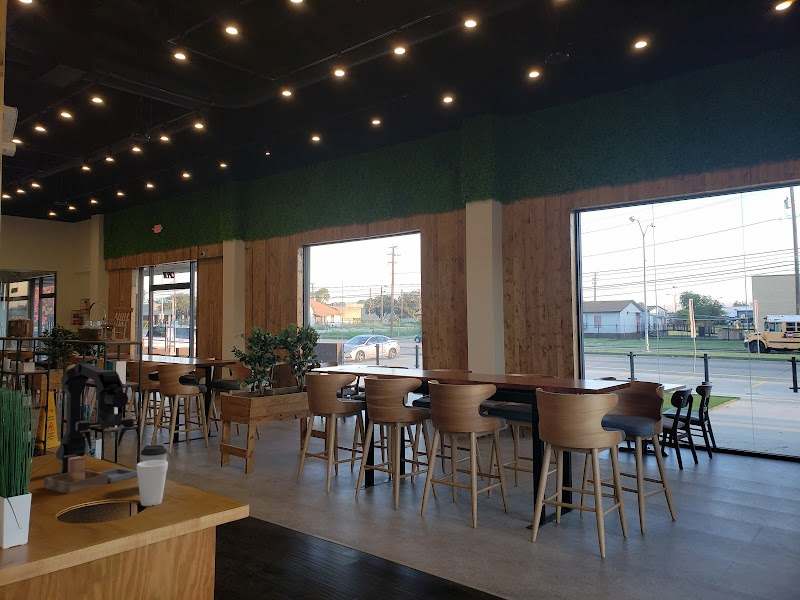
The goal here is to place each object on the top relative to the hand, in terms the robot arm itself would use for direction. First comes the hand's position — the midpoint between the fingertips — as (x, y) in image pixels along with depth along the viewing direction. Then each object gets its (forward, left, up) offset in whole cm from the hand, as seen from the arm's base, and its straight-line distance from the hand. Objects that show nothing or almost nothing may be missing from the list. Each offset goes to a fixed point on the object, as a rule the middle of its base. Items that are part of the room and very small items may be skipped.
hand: (104, 447), depth 215 cm
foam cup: (+34, -5, -14) cm, 37 cm away
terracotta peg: (-5, -7, -13) cm, 16 cm away
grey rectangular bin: (-3, +7, -14) cm, 15 cm away
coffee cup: (+19, +7, -14) cm, 24 cm away
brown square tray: (-5, -7, -14) cm, 16 cm away
